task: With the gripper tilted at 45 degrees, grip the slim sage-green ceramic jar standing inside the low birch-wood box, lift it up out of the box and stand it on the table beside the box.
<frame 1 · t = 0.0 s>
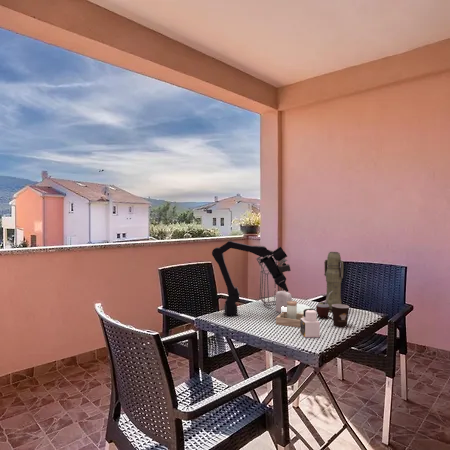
hand: (286, 289, 200), 15 cm above the table, tool tilted 35°, fingers open, 9 cm apart
mate gourd: (323, 318, 199), on the table
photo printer: (283, 312, 209), on the table
ceramic jar: (291, 312, 188), in the open box
open box: (291, 322, 188), on the table
stone statue: (333, 311, 213), on the table
coffee mug: (337, 325, 185), on the table
medicine bottle: (309, 335, 169), on the table
geometric lantern: (270, 307, 222), on the table
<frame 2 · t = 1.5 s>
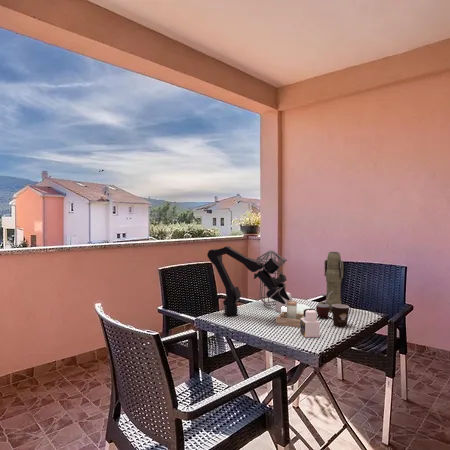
hand: (287, 301, 189), 11 cm above the table, tool tilted 45°, fingers open, 9 cm apart
nothing on the table moved.
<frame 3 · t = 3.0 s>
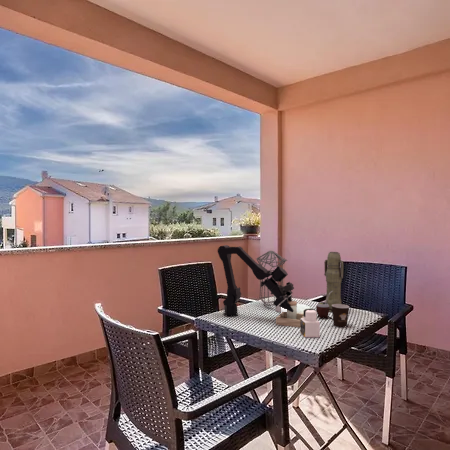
hand: (294, 310, 188), 7 cm above the table, tool tilted 45°, fingers closed on ceramic jar, 5 cm apart
ceramic jar: (291, 312, 188), in the open box, touching gripper
everything else where it was.
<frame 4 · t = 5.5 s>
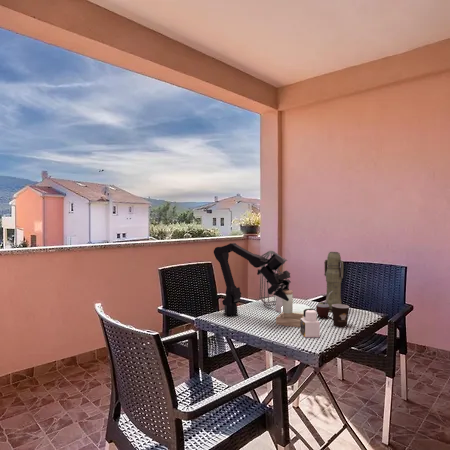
hand: (290, 299, 182), 13 cm above the table, tool tilted 45°, fingers closed on ceramic jar, 5 cm apart
ceramic jar: (287, 301, 183), point 12 cm above the table, touching gripper
everything else where it was.
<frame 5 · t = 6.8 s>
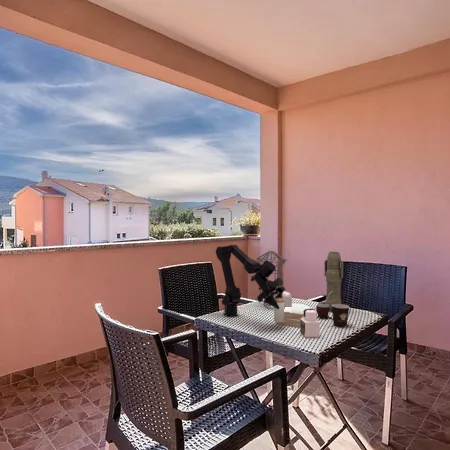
hand: (281, 307, 177), 11 cm above the table, tool tilted 45°, fingers closed on ceramic jar, 5 cm apart
ceramic jar: (279, 309, 178), point 10 cm above the table, touching gripper
everything else where it was.
when the fingers open (7 cm above the table, at t = 7.8 s): ceramic jar stays where it is, on the table.
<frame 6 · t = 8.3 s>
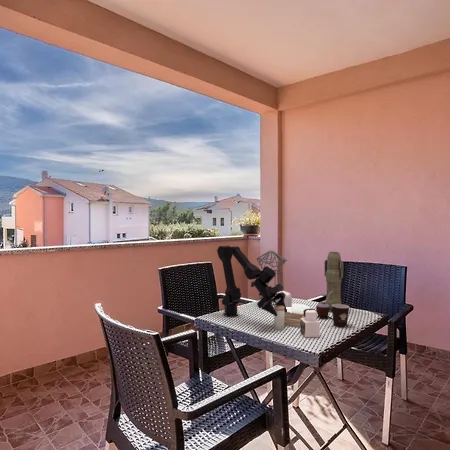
hand: (281, 313, 177), 8 cm above the table, tool tilted 45°, fingers open, 9 cm apart
ceramic jar: (279, 317, 178), on the table
everything else where it was.
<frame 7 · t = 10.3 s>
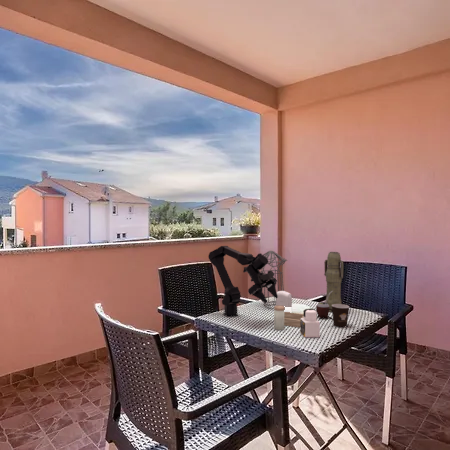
hand: (271, 300, 183), 13 cm above the table, tool tilted 40°, fingers open, 9 cm apart
nothing on the table moved.
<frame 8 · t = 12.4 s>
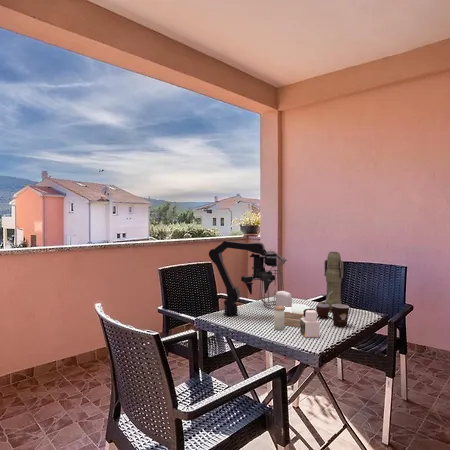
hand: (258, 293, 198), 13 cm above the table, tool pointing down, fingers open, 9 cm apart
nothing on the table moved.
at the end: ceramic jar inside the target area (0.2 cm from its centre), on the table; ceramic jar tilted 0°; the gripper is holding nothing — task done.
